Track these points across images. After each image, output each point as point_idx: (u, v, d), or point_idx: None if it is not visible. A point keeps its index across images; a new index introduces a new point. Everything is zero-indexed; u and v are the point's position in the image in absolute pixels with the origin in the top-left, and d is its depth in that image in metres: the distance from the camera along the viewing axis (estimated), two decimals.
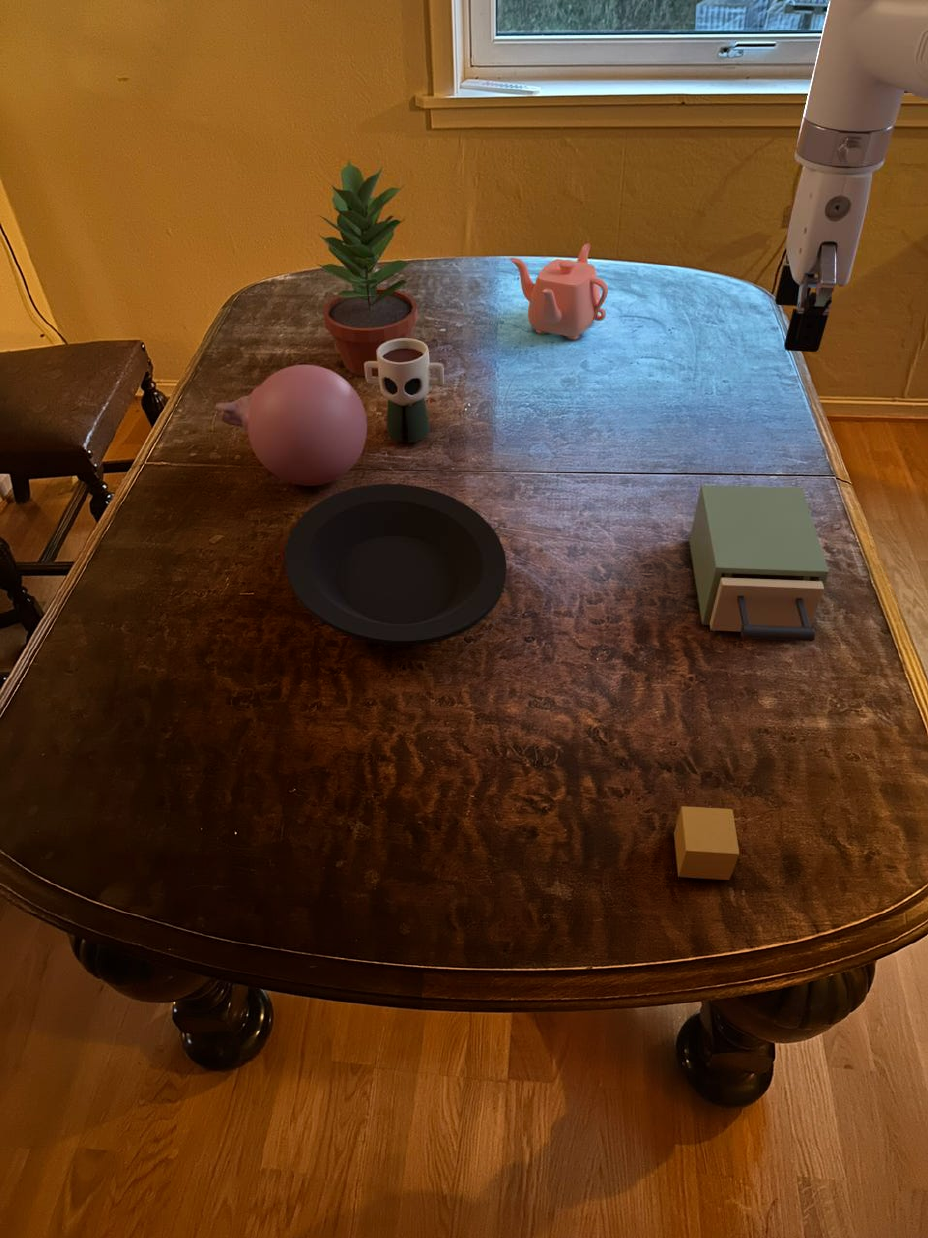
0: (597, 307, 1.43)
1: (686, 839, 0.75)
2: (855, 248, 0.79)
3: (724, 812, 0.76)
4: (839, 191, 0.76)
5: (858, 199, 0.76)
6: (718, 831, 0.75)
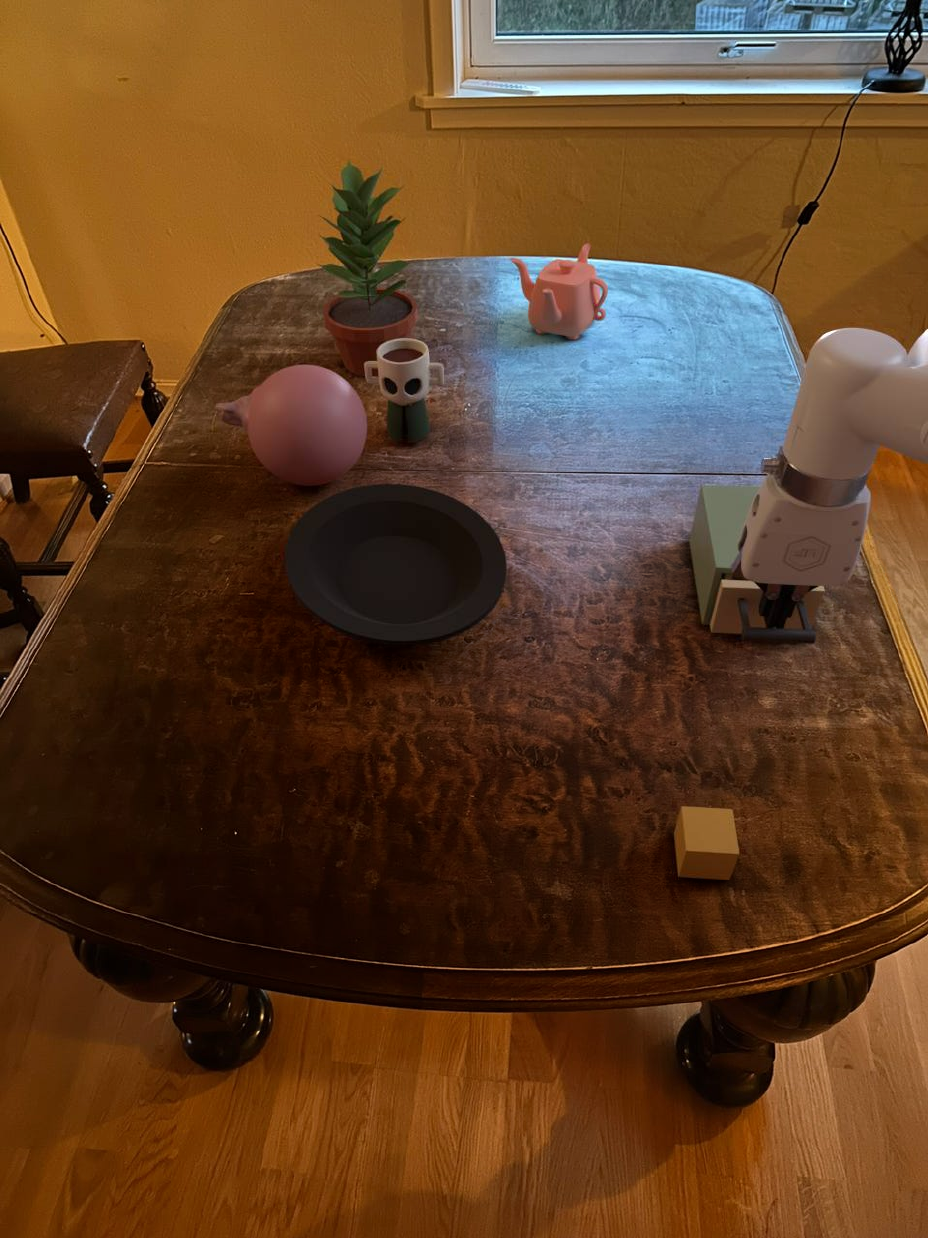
0: (597, 307, 1.43)
1: (686, 839, 0.75)
2: (751, 550, 0.81)
3: (724, 812, 0.76)
4: (760, 492, 0.80)
5: (761, 508, 0.79)
6: (718, 831, 0.75)
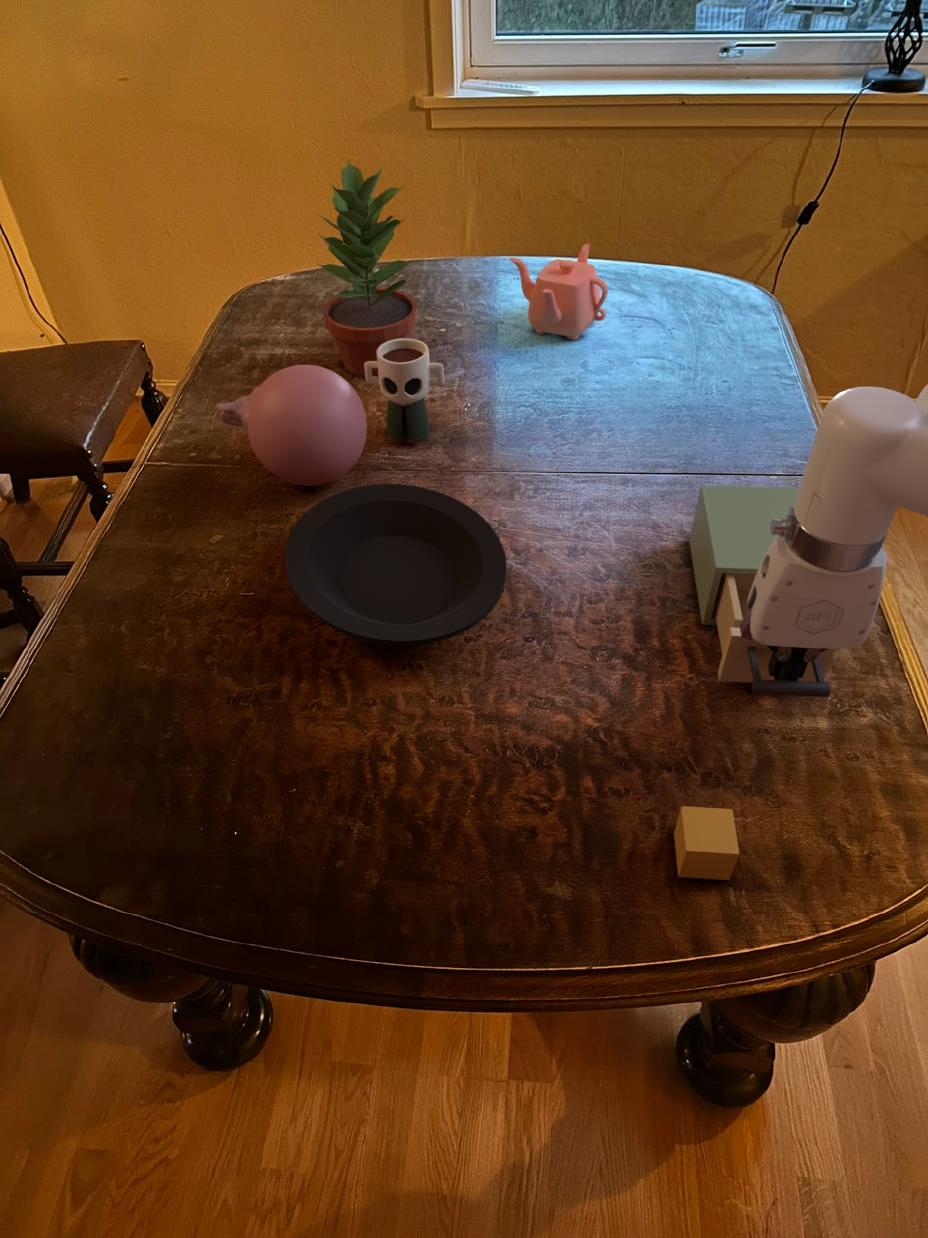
0: (597, 307, 1.43)
1: (686, 839, 0.75)
2: (761, 613, 0.77)
3: (724, 812, 0.76)
4: (770, 553, 0.76)
5: (771, 571, 0.75)
6: (718, 831, 0.75)
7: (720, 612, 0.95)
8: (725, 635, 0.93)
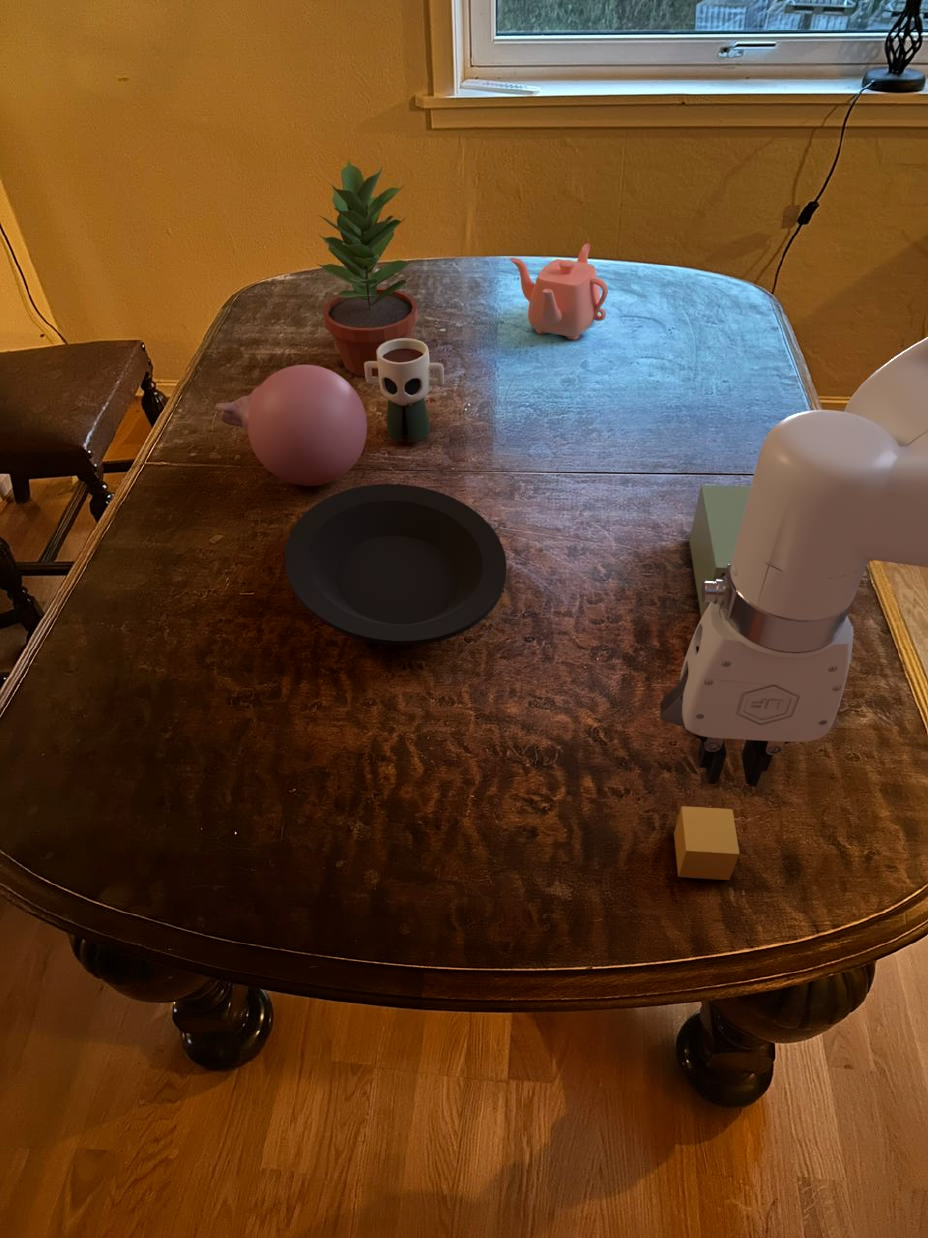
0: (597, 307, 1.43)
1: (686, 839, 0.75)
2: (693, 698, 0.60)
3: (724, 812, 0.76)
4: (703, 622, 0.58)
5: (704, 647, 0.58)
6: (718, 831, 0.75)
7: None
8: None
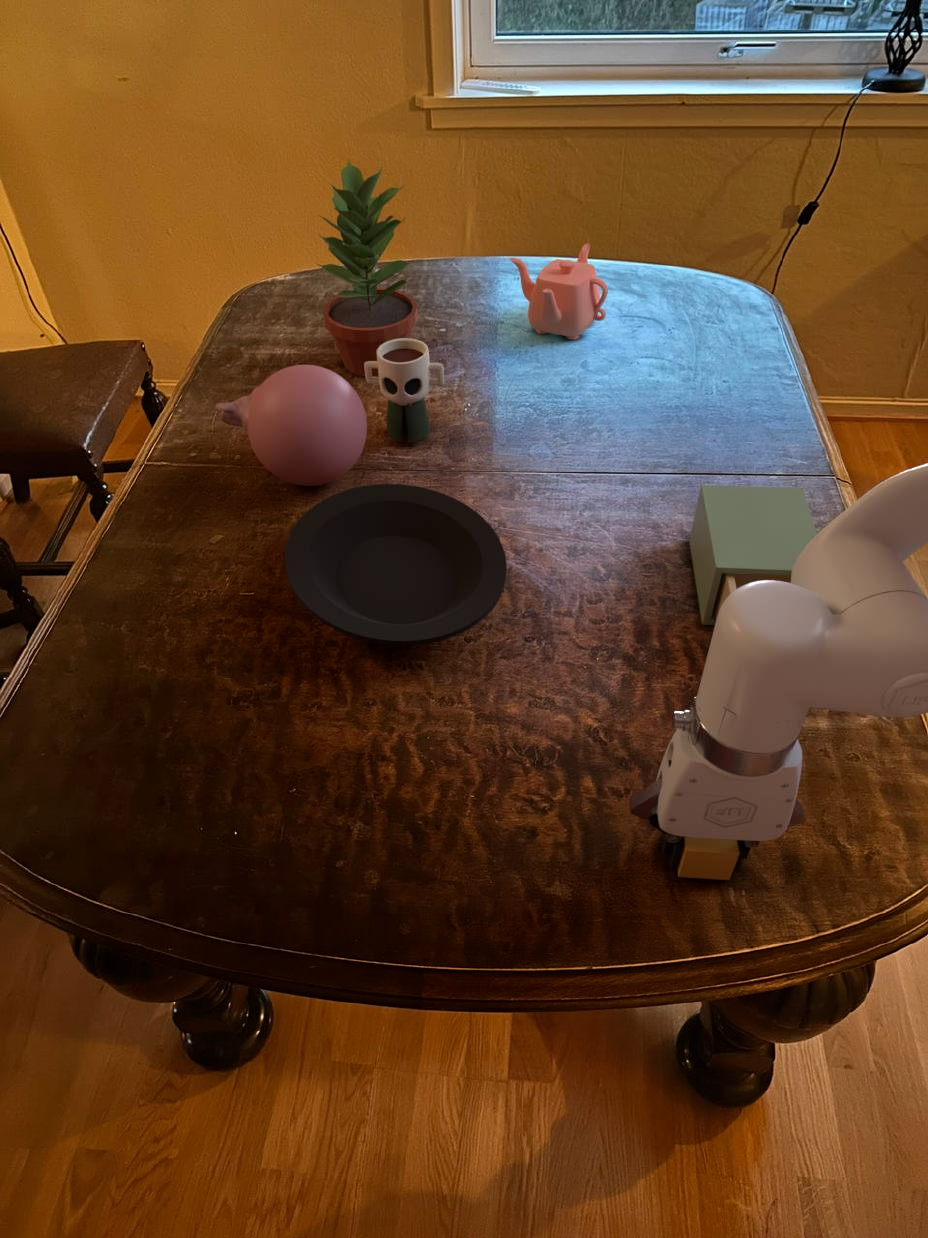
0: (597, 307, 1.43)
1: (686, 839, 0.75)
2: (666, 805, 0.69)
3: None
4: (674, 742, 0.68)
5: (674, 765, 0.67)
6: None
7: None
8: None
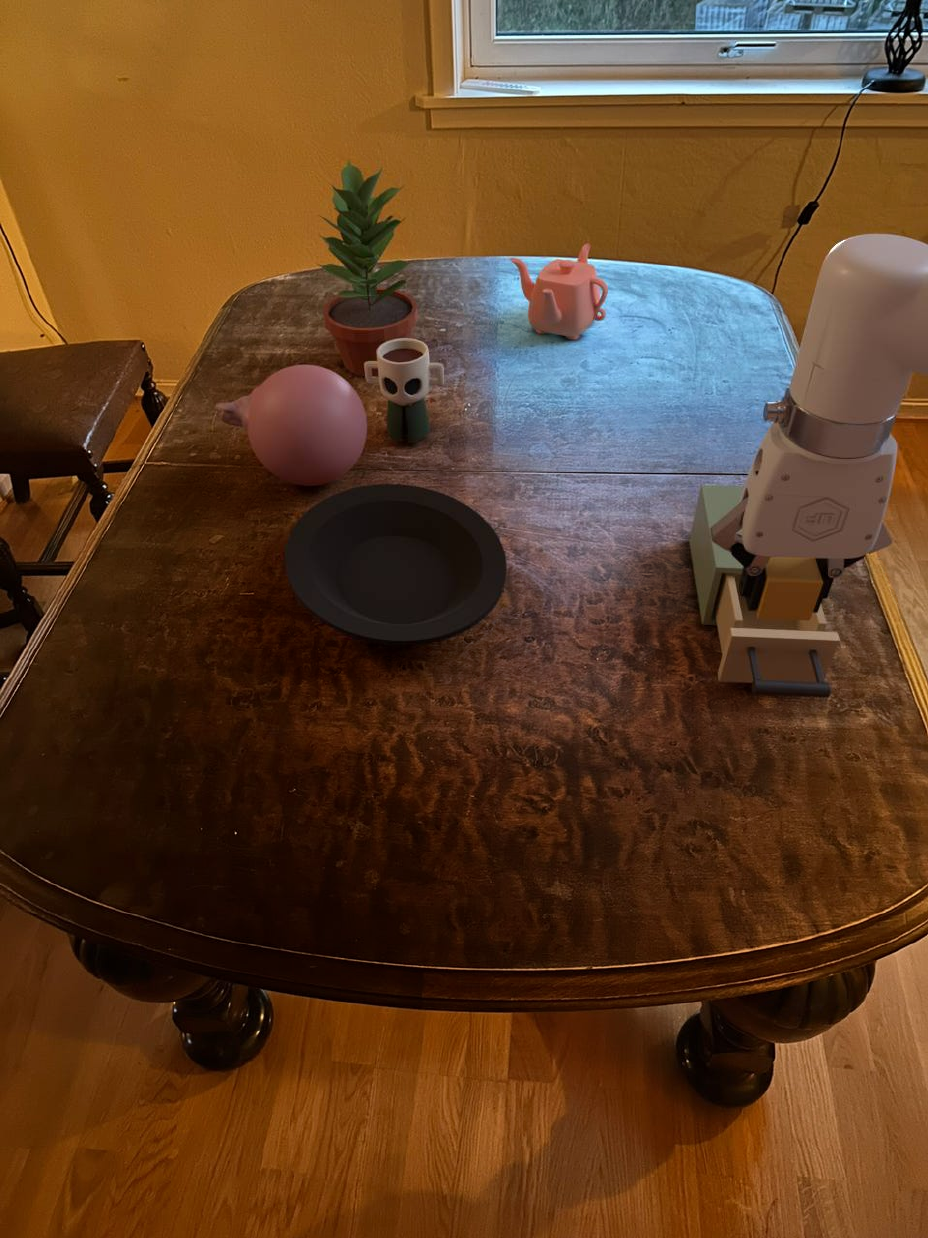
0: (597, 307, 1.43)
1: (768, 572, 0.73)
2: (754, 516, 0.68)
3: None
4: (763, 445, 0.66)
5: (765, 465, 0.65)
6: (799, 565, 0.74)
7: (720, 612, 0.95)
8: (725, 635, 0.93)
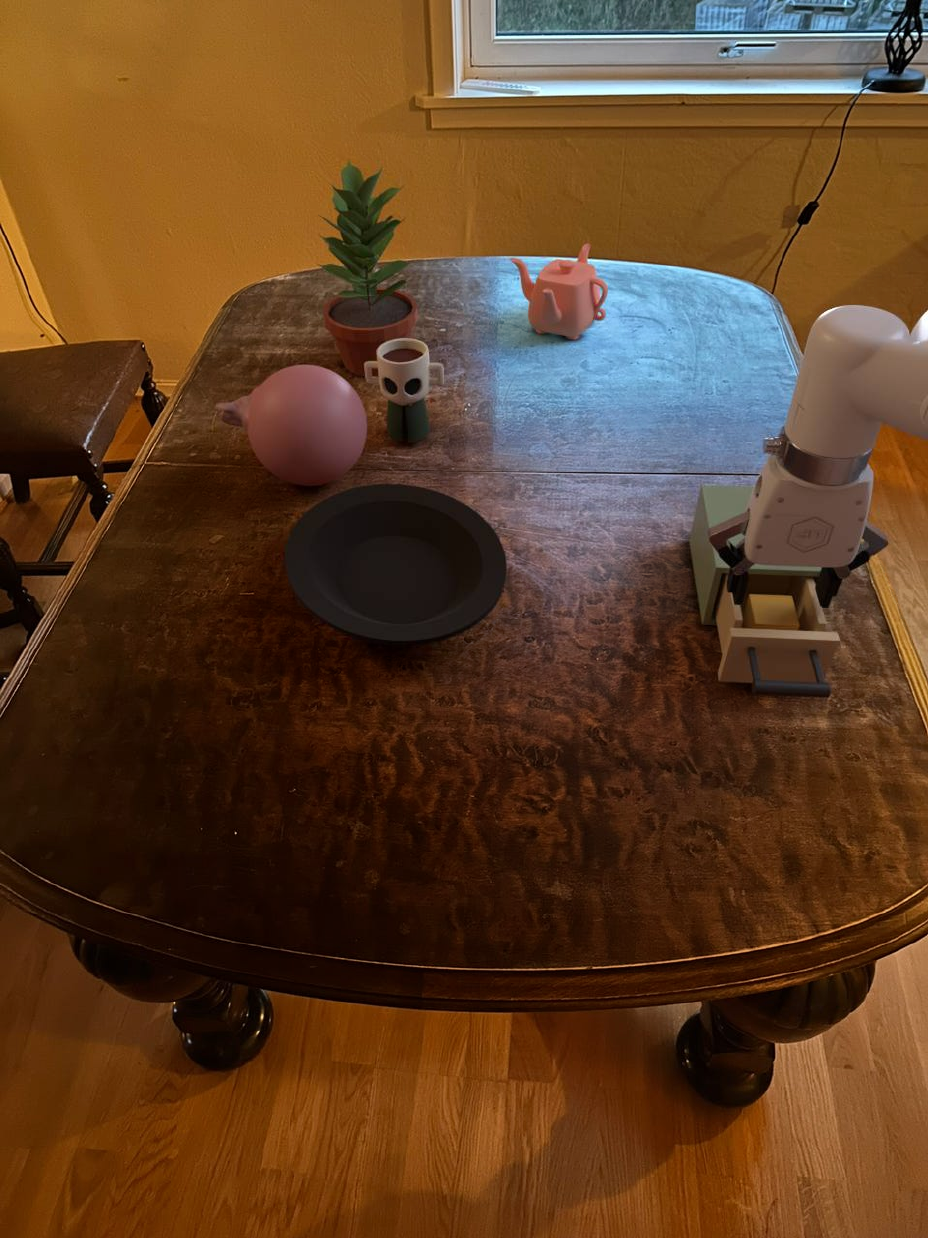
0: (597, 307, 1.43)
1: (755, 615, 0.90)
2: (754, 531, 0.81)
3: (785, 597, 0.92)
4: (763, 473, 0.80)
5: (764, 489, 0.79)
6: (781, 610, 0.91)
7: (720, 612, 0.95)
8: (725, 635, 0.93)
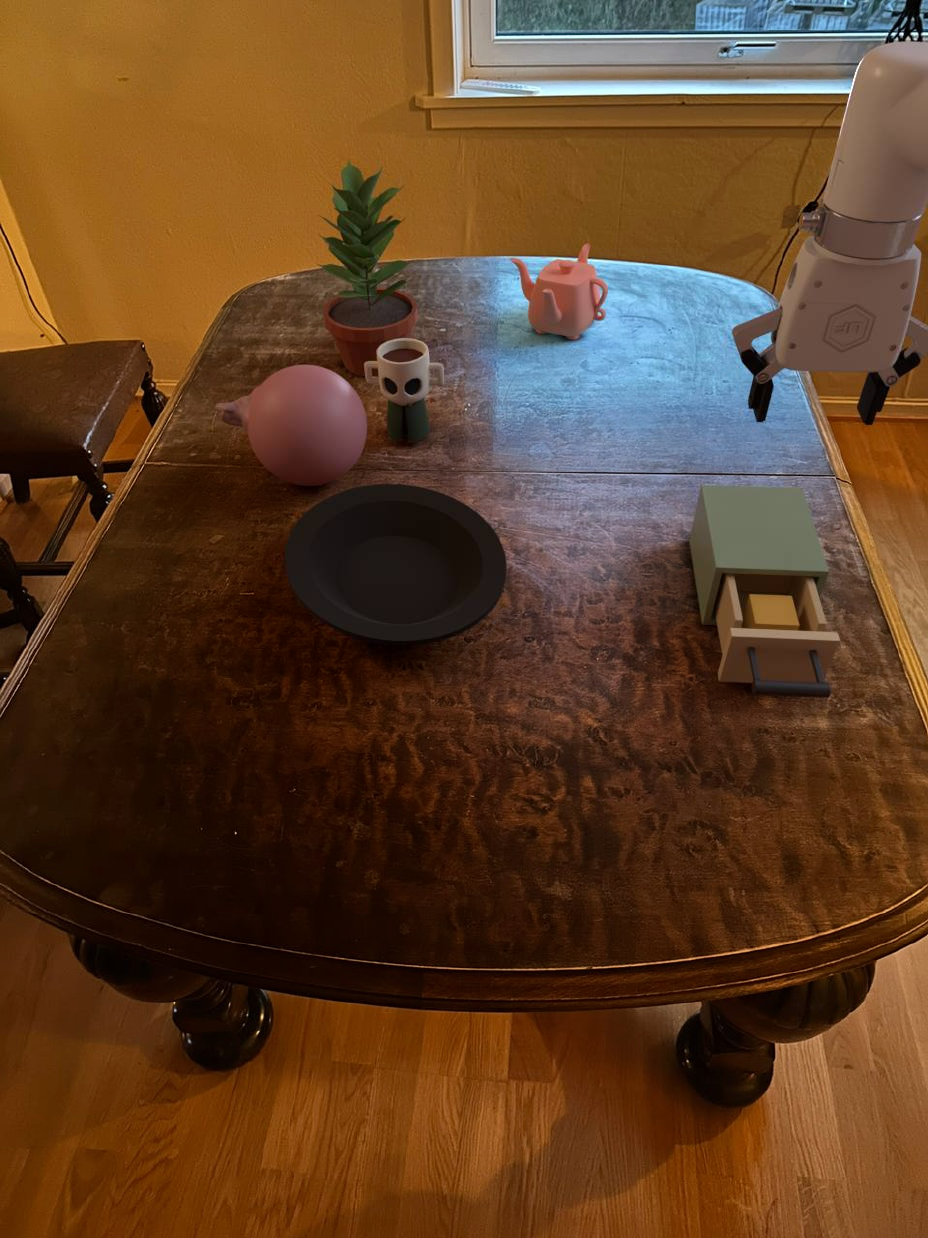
0: (597, 307, 1.43)
1: (755, 615, 0.90)
2: (787, 327, 0.74)
3: (785, 597, 0.92)
4: (798, 258, 0.72)
5: (799, 274, 0.72)
6: (781, 610, 0.91)
7: (720, 612, 0.95)
8: (725, 635, 0.93)
